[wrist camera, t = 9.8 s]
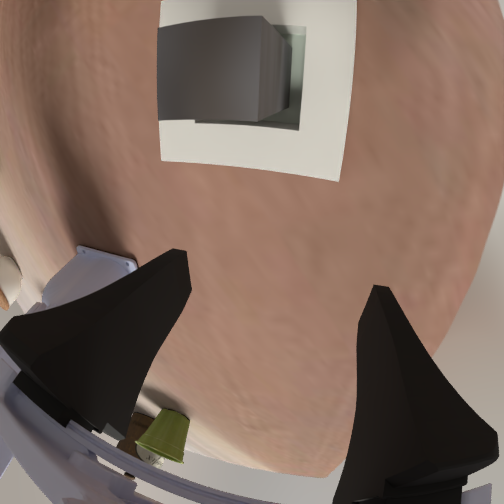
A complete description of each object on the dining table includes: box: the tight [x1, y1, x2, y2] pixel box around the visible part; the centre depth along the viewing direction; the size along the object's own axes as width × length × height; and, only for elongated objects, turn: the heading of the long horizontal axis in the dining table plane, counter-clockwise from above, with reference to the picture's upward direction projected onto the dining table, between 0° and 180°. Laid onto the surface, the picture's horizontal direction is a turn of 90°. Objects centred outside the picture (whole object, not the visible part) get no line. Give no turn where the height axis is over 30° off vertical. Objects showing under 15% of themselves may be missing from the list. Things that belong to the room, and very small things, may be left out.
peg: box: [157, 16, 292, 122], centre depth 11 cm, size 4×4×8 cm
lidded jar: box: [0, 256, 22, 310], centre depth 37 cm, size 11×11×9 cm
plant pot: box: [135, 409, 190, 464], centre depth 50 cm, size 12×12×11 cm
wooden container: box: [116, 413, 165, 480], centre depth 60 cm, size 15×15×22 cm
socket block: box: [159, 0, 357, 182], centre depth 13 cm, size 11×11×3 cm
